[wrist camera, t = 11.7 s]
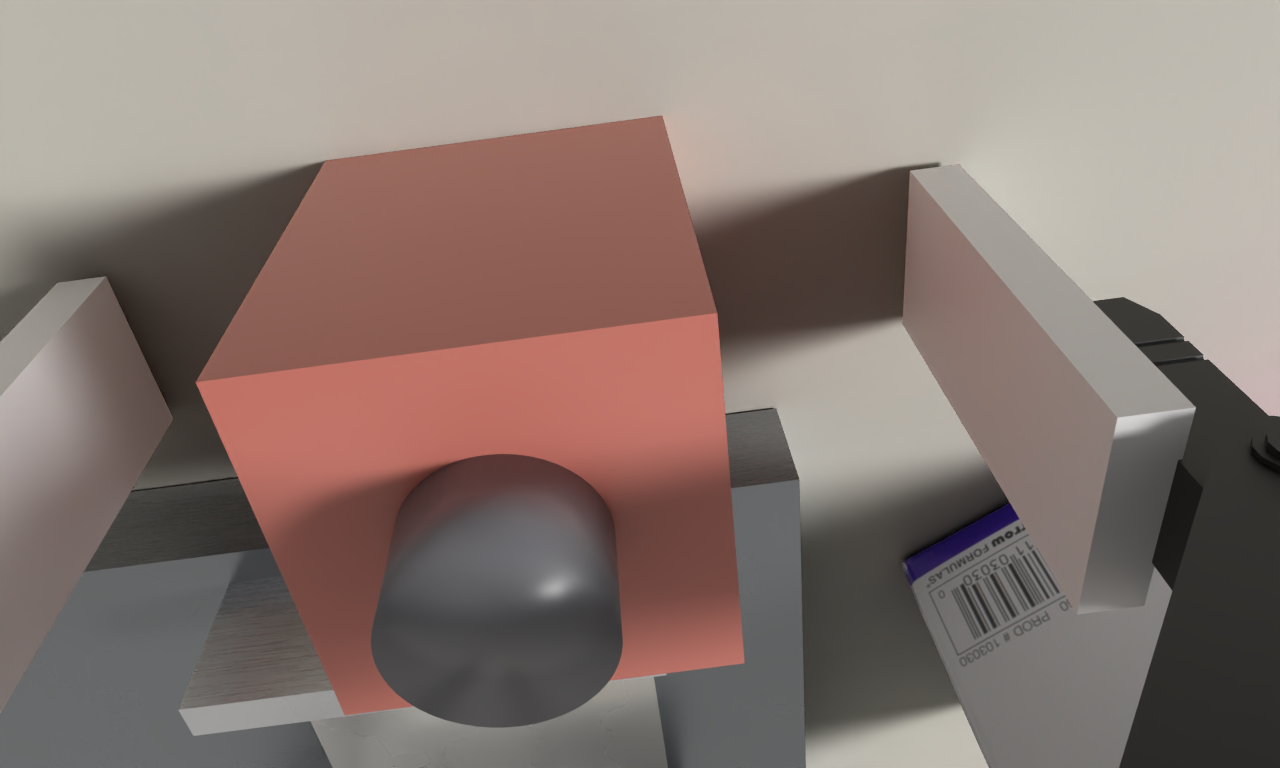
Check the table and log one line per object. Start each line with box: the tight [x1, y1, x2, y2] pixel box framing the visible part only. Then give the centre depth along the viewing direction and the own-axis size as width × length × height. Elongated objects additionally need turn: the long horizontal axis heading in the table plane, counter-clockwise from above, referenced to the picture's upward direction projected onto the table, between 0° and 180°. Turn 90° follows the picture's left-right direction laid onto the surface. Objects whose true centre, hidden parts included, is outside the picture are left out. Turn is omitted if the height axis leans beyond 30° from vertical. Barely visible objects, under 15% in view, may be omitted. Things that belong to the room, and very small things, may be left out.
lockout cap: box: [196, 116, 745, 728], centre depth 12 cm, size 5×5×8 cm
